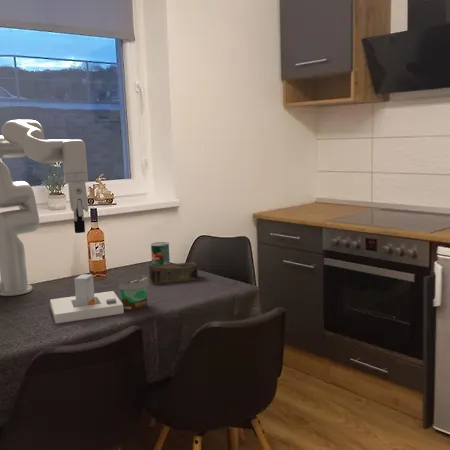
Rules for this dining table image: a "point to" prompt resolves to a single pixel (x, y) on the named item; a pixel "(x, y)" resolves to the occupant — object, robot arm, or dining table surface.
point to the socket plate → (86, 307)
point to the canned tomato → (160, 253)
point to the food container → (134, 294)
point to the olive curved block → (173, 273)
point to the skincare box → (84, 290)
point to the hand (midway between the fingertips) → (80, 232)
